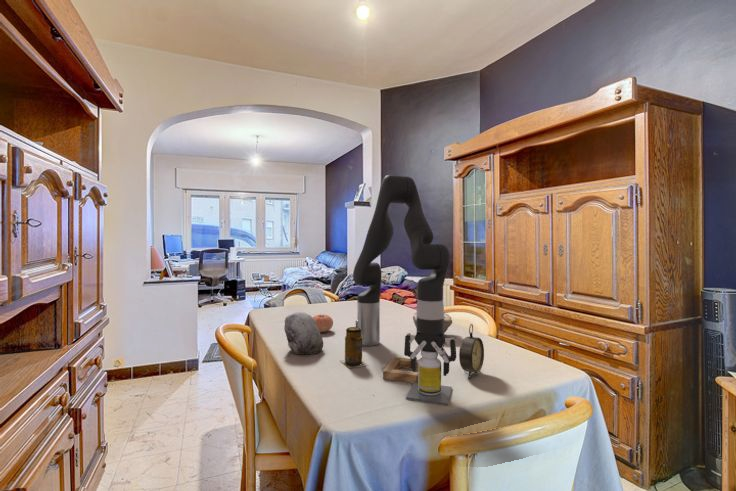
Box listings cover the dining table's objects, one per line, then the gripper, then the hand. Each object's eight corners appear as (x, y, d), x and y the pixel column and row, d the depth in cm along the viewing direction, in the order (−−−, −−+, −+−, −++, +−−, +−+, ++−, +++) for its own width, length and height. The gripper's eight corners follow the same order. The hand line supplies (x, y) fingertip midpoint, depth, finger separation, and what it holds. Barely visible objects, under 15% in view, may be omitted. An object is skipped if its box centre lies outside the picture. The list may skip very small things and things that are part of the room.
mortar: (449, 331, 169) (450, 312, 169) (452, 342, 153) (452, 320, 152) (413, 330, 172) (413, 311, 172) (412, 340, 155) (412, 318, 155)
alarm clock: (472, 381, 112) (473, 328, 111) (455, 377, 115) (456, 326, 114) (485, 371, 120) (485, 321, 120) (469, 367, 123) (469, 319, 123)
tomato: (331, 334, 164) (331, 317, 164) (307, 334, 164) (307, 317, 164) (334, 328, 175) (334, 312, 174) (311, 328, 175) (311, 311, 175)
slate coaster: (406, 399, 99) (406, 397, 99) (414, 383, 110) (414, 381, 110) (447, 405, 96) (447, 403, 96) (451, 388, 106) (451, 386, 106)
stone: (324, 355, 136) (324, 315, 136) (284, 357, 133) (283, 316, 133) (321, 345, 148) (321, 308, 148) (284, 347, 145) (284, 309, 145)
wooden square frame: (383, 378, 114) (383, 371, 113) (394, 363, 127) (394, 356, 127) (424, 384, 109) (424, 376, 109) (432, 368, 123) (432, 361, 122)
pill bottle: (441, 397, 99) (441, 355, 99) (417, 395, 100) (417, 353, 100) (441, 387, 105) (441, 347, 105) (418, 385, 107) (418, 346, 106)
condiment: (358, 358, 133) (358, 325, 132) (368, 365, 125) (368, 330, 125) (339, 361, 130) (339, 327, 129) (349, 369, 122) (349, 333, 122)
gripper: (402, 316, 101) (401, 374, 101) (454, 320, 96) (454, 381, 97) (408, 311, 108) (407, 365, 109) (457, 314, 103) (457, 371, 104)
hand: (429, 373), depth 103 cm, fingers open, 8 cm apart
